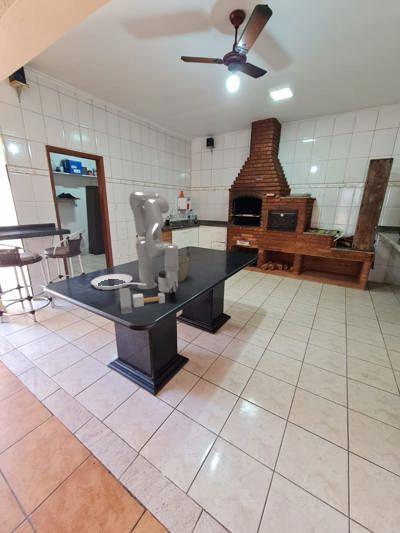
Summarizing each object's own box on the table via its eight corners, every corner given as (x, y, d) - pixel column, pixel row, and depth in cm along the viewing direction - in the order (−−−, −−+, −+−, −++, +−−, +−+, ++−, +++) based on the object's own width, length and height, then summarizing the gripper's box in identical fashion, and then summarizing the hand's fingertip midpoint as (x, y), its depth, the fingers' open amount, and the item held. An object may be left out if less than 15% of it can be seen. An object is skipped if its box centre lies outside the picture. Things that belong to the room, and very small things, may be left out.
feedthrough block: (120, 301, 123) (119, 286, 121) (129, 300, 125) (128, 285, 123) (121, 314, 109) (120, 297, 106) (132, 312, 111) (130, 296, 108)
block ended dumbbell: (133, 303, 120) (132, 294, 119) (163, 299, 126) (163, 290, 125) (134, 307, 116) (133, 297, 115) (165, 302, 122) (164, 293, 121)
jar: (175, 290, 140) (175, 272, 137) (165, 293, 135) (164, 275, 131) (166, 286, 146) (166, 269, 143) (156, 290, 141) (155, 271, 137)
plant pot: (190, 277, 166) (190, 256, 162) (187, 284, 152) (187, 261, 147) (170, 276, 167) (170, 256, 163) (166, 283, 153) (165, 260, 149)
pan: (115, 276, 168) (115, 268, 166) (160, 287, 146) (160, 278, 144) (83, 286, 146) (81, 277, 144) (130, 301, 124) (129, 291, 122)
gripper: (162, 264, 126) (163, 294, 131) (168, 271, 112) (169, 304, 117) (174, 263, 129) (175, 292, 133) (182, 270, 115) (182, 302, 120)
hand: (172, 298), depth 125 cm, fingers closed
